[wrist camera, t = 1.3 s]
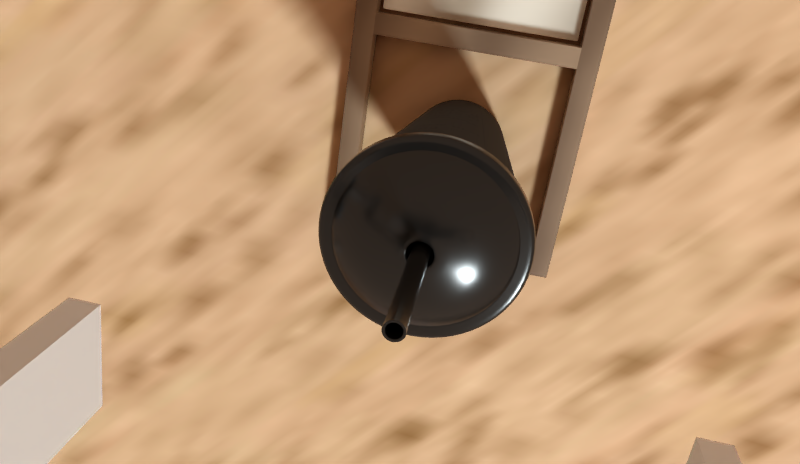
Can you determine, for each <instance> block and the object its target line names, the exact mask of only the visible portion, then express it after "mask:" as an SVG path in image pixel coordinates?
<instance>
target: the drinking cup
mask: <svg viewBox="0 0 800 464" xmlns="http://www.w3.org/2000/svg"><path fill="white" fill-rule="evenodd" d="M319 244H320V249H321V254H322V257H323V261H324V264H325V266H326V269H327V271H328V273H329V275H330V277H331V279H332V281H333V283H334V284H335V286H336V287H337V289H338V290H339V292H340V293H341V294H342V296H343V297H344V298H345V299H346V300H347V301H348V302H349V303H350V304H351V305H352V306H353V307H354V308H355V309H356V310H357V311H359V312H360V313H361V314H363V315H364V316H365V317H367V318H368V319H370V320H371V321H373V322H375V323H377V324H379V325H381V326H382V334H383V336H384V337H385V338H386V339H387V340H389V341H391V342H399V341H401V340H403V339H404V338H405V336H406V335H410V336H417V337H429V338H435V337H447V336H454V335H458V334H462V333H465V332H469V331H471V330H474V329H476V328H479V327H481V326H483V325H484V324H486V323H488V322H490V321H491V320H493V319H494V318H496V317H497V316H498V315H500V314H501V313H502V312H503V311H504V310H506V309H507V307H508V306H509V305H510V304H511V303H512V302H513V301H514V300H515V299H516V297H517V296H518V295H519V293H520V292H521V290H522V288H523V287H524V285H525V283H526V281H527V279H528V277H529V274H530V271H531V268H532V264H533V261H534V254H535V244H536V235H535V224H534V219H533V214H532V211H531V207H530V204H529V202H528V199H527V197H526V195H525V193H524V191H523V189H522V187H521V186H520V184H519V183H518V181H517V180H516V178H515V177H514V174H513V170H512V166H511V163H510V159H509V156H508V152H507V148H506V145H505V141H504V138H503V134H502V131H501V128H500V126H499V124H498V122H497V121H496V119H495V118H494V117H493V116H492V115H491V114H490V113H489V112H488V111H487V110H486V109H484V108H483V107H481V106H479V105H477V104H475V103H472V102H469V101H463V100H452V101H446V102H443V103H440V104H438V105H436V106H434V107H432V108H431V109H430V110H428V111H427V112H425V113H424V114H423V115H421V116H420V117H419V118H417V119H416V120H415V121H413V122H412V123H411V124H409V125H408V126H407V127H405V128H404V129H403V130H401V131H400V132H398V133H397V134H396V135H394V136H392V137H388V138H385V139H383V140H380V141H378V142H376V143H374V144H372V145H370V146H368V147H367V148H365V149H363V150H362V151H361V152H359V153H358V154H356V155H355V156H354V157H353V158H352V159H351V160H350V161H349V162H348V163H347V164H346V165H345V166H344V167H343V168H342V169H341V170H340V172H339V173H338V174H337V175H336V177H335V178H334V180H333V182H332V183H331V185H330V187H329V189H328V191H327V193H326V195H325V198H324V201H323V204H322V208H321V212H320V218H319Z"/></svg>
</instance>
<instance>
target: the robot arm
mask: <svg viewBox="0 0 800 464" xmlns="http://www.w3.org/2000/svg"><path fill="white" fill-rule="evenodd" d="M101 406H102V352H101V305H100V304H96V303H91V302H87V301H82V300H78V299H73V298H68V299H66V300H65V301H64V302H62V303H61V304H60V305H58V306H57V307H56V308H54V309H53V310H52V311H50V312H49V313H48V314H46V315H45V316H44V317H42V318H41V319H40V320H38V321H37V322H35V323H34V324H33V325H31V326H30V327H29V328H27V329H26V330H25V331H23V332H22V333H21V334H19V335H18V336H17V337H15V338H14V339H13V340H11V341H10V342H9V343H7V344H6V345H5V346H3V347H2V348H1V349H0V464H47V463H48V462H49V461H50V460H51V459H52V458H53V457H54V456H55V455H56V454H57V453H58V452H59V451H60V450H61V449H62V448H63V447H64V446H65V444H66V443H67V442H68V441H69V440H70V439H71V438H72V437H73V436H74V435H75V434H76V433H77V432H78V431H79V430H80V429H81V428H82V427H83V425H84V424H85V423H86V422H87V421H88V420H89V419H90V418H91V417H92V416H93V415H94V414H95V413H96V412H97V411H98V410H99V409H100V408H101ZM686 464H742V463H741V460H740V458H739V455H738V453H737V451H736V448H735V446H734V445H729V444H725V443H720V442H716V441H711V440H707V439H702V438H698V437H696V439H695V442H694V445H693V447H692V450H691V453H690V455H689V458H688V461H687V463H686Z"/></svg>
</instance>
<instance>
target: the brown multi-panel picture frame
mask: <svg viewBox="0 0 800 464" xmlns="http://www.w3.org/2000/svg"><path fill="white" fill-rule="evenodd" d="M615 2H616V0H591V3H590V7H589V11H588V15H587V19H586V23H585V28H584V32H583V36H582V40H581V44H580V45H574V44H568V43H562V42H556V41H551V40H545V39H539V38H533V37H527V36H521V35H515V34H509V33H503V32H498V31H492V30H486V29H480V28H474V27H468V26H462V25H456V24H450V23H445V22H439V21H433V20H427V19H421V18H415V17H409V16H403V15H398V14H392V13H386V12H380V5H381V0H357V4H356V13H355V21H354V30H353V38H352V47H351V55H350V64H349V72H348V81H347V89H346V98H345V106H344V115H343V123H342V132H341V140H340V148H339V157H338V165H337V174H338V173H339V172H340V170H341V169H342V168H343V167H344V166H345V165H346V164H347V163H348V162H349V161H350V160H351V159H352V158H353V157H354V156H355V155H356V154H358V153H359V152H361V151H362V143H363V135H364V128H365V120H366V112H367V105H368V97H369V89H370V82H371V74H372V66H373V59H374V51H375V43H376V36H377V35H382V36H388V37H393V38H399V39H405V40H411V41H416V42H422V43H428V44H434V45H440V46H445V47H451V48H457V49H463V50H468V51H474V52H480V53H486V54H492V55H497V56H503V57H509V58H515V59H521V60H526V61H532V62H538V63H544V64H549V65H555V66H561V67H567V68H573V69H575V70H574V74H573V78H572V82H571V86H570V90H569V95H568V99H567V103H566V107H565V111H564V116H563V120H562V124H561V128H560V132H559V137H558V141H557V145H556V149H555V153H554V157H553V162H552V166H551V170H550V174H549V178H548V183H547V187H546V191H545V195H544V199H543V204H542V208H541V212H540V216H539V220H538V224H537V229H536V233H535V235H536V244H535V254H534V261H533V264H532V268H531V271H530V275H535V276H540V277H545V278H546V276H547V272H548V268H549V264H550V260H551V256H552V252H553V248H554V244H555V240H556V236H557V233H558V229H559V225H560V221H561V217H562V213H563V209H564V205H565V201H566V197H567V193H568V189H569V185H570V181H571V177H572V173H573V169H574V165H575V161H576V157H577V153H578V149H579V145H580V141H581V137H582V133H583V129H584V125H585V121H586V117H587V113H588V109H589V105H590V101H591V97H592V93H593V89H594V86H595V82H596V78H597V74H598V70H599V66H600V62H601V58H602V54H603V50H604V46H605V42H606V38H607V34H608V30H609V26H610V22H611V18H612V14H613V10H614V6H615ZM586 4H587V0H384V5H383V8H384V9H389V10H395V11H401V12H407V13H413V14H419V15H425V16H431V17H437V18H443V19H448V20H454V21H460V22H466V23H472V24H478V25H484V26H490V27H496V28H502V29H507V30H513V31H519V32H525V33H531V34H537V35H543V36H549V37H555V38H561V39H566V40H572V41H578V37H579V33H580V29H581V25H582V20H583V16H584V12H585V8H586ZM337 174H336V175H337Z"/></svg>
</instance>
